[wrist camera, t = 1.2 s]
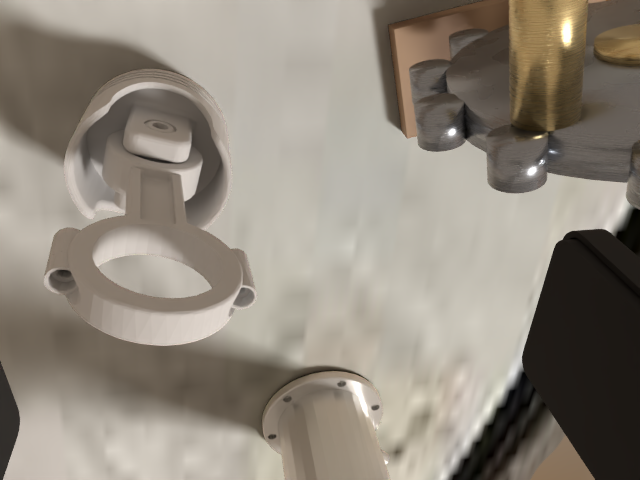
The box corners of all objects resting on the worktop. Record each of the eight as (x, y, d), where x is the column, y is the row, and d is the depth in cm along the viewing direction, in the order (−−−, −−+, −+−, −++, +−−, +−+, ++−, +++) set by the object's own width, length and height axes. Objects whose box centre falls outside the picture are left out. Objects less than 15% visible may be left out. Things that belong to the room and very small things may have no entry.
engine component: (92, 50, 36) (75, 186, 41) (-7, 197, 19) (-16, 400, 24) (255, 93, 40) (223, 214, 44) (294, 250, 23) (235, 420, 27)
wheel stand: (401, 131, 43) (483, 233, 30) (387, 24, 39) (478, 93, 26) (706, 50, 44) (910, 117, 31) (728, -63, 40) (974, -38, 27)
